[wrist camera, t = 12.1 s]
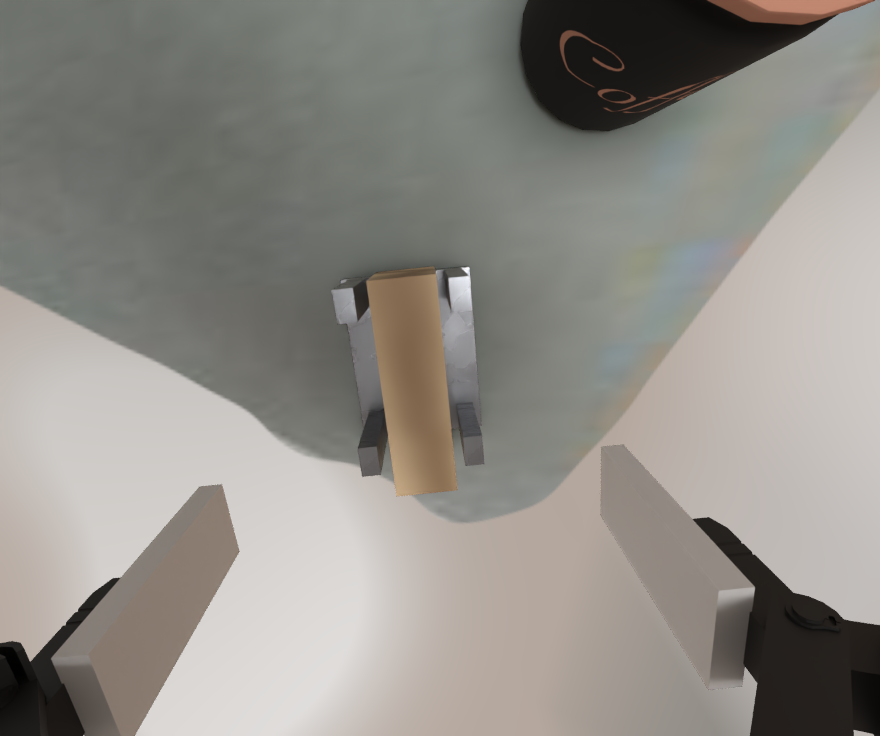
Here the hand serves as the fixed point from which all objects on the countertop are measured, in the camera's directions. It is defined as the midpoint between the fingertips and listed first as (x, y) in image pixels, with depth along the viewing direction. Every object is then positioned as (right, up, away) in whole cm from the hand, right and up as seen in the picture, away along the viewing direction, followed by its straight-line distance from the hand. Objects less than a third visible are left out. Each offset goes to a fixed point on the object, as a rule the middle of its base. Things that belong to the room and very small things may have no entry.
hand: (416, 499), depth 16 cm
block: (-1, +5, +18) cm, 19 cm away
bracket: (-1, +6, +19) cm, 20 cm away
